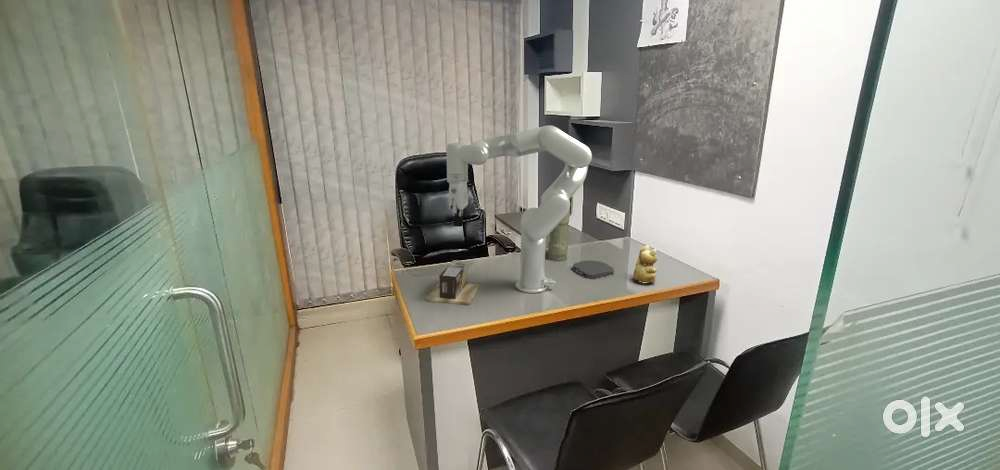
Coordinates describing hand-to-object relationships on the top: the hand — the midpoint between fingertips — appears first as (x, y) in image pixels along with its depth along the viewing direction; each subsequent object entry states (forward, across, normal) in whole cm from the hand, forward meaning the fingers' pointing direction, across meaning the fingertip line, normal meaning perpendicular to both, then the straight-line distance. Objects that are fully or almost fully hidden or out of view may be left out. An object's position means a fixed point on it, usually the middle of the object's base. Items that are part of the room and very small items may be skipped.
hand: (458, 225), depth 172 cm
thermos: (+25, +42, -36) cm, 60 cm away
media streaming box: (+26, +28, -52) cm, 64 cm away
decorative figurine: (+25, +21, -72) cm, 79 cm away
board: (+25, -7, 0) cm, 26 cm away
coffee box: (+19, +3, 0) cm, 20 cm away
